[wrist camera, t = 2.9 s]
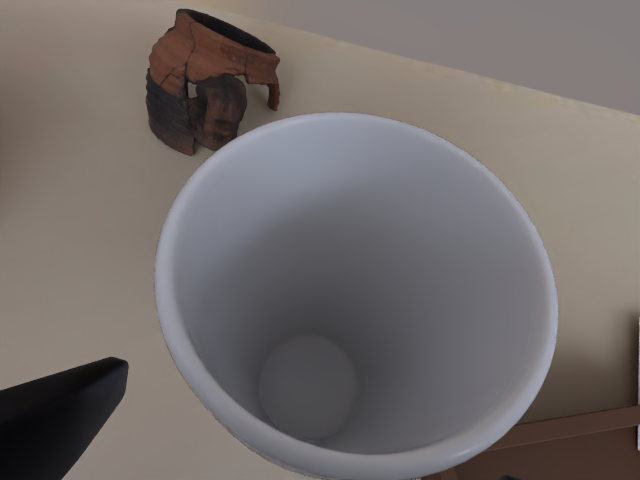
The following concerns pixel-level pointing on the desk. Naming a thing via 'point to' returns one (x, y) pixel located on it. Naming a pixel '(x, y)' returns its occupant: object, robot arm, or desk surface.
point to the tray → (560, 450)
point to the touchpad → (639, 389)
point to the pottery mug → (205, 81)
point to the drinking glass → (355, 297)
